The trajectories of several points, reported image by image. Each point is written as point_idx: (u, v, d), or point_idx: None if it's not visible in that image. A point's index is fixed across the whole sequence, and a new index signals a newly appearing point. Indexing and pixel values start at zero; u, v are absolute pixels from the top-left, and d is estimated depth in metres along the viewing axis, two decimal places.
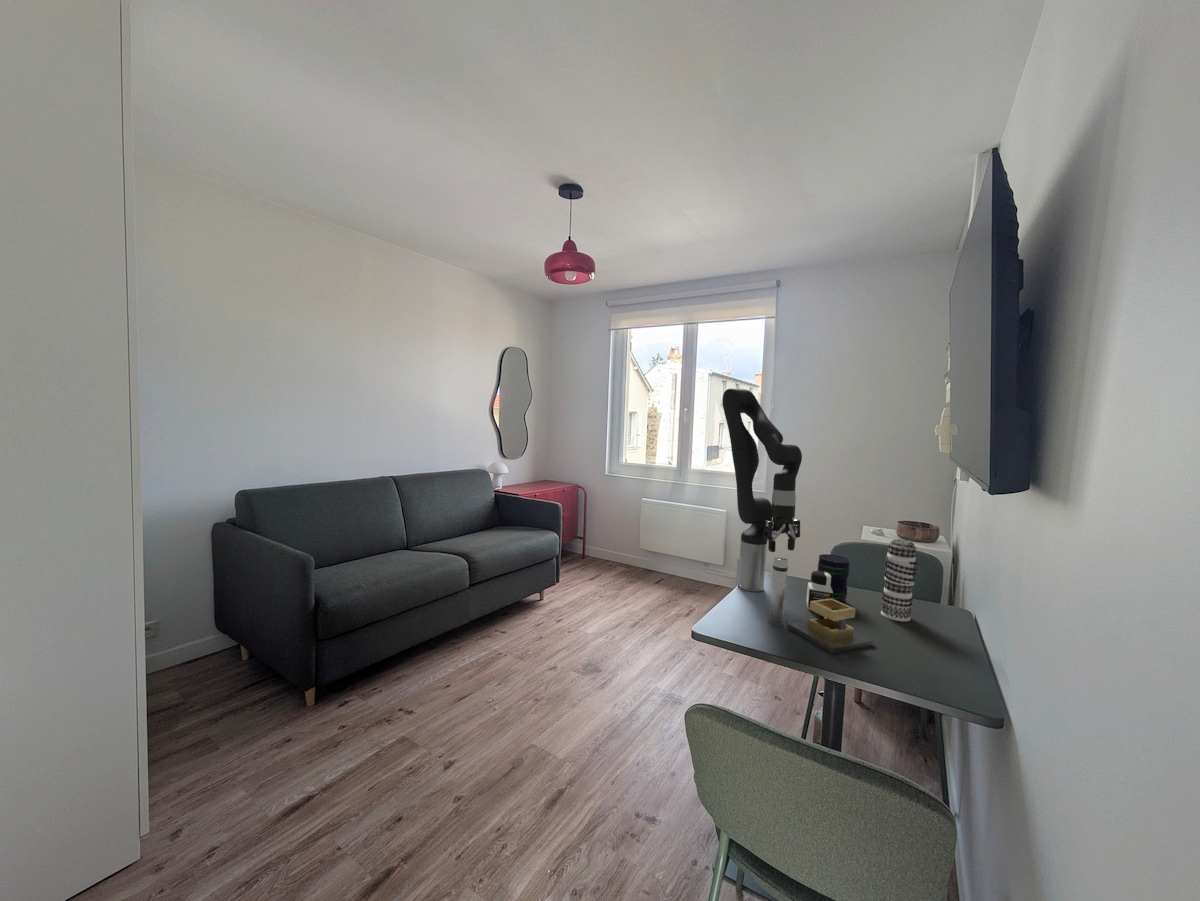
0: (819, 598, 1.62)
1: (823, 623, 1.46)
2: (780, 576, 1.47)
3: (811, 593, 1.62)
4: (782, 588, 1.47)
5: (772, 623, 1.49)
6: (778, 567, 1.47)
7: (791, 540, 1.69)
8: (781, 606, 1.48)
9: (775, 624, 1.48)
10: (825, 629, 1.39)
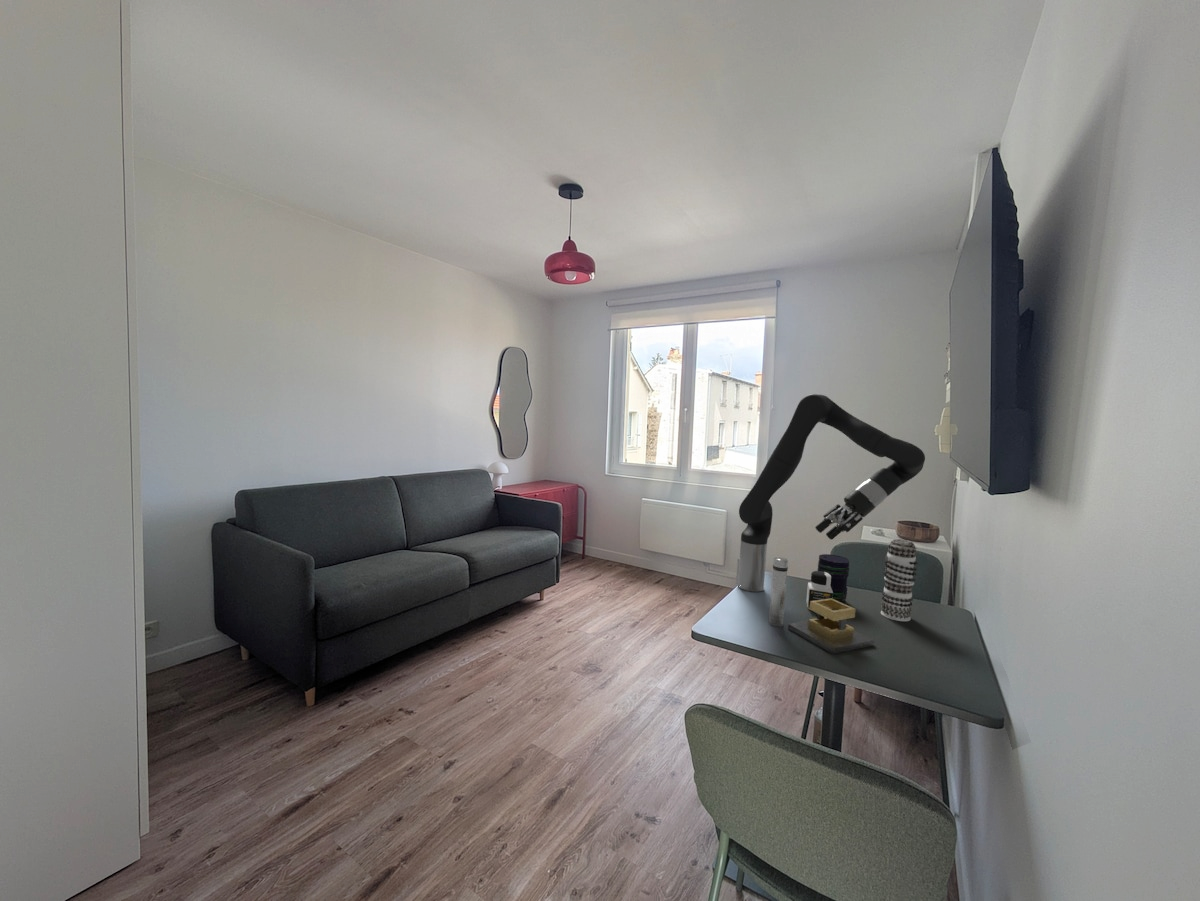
0: (819, 598, 1.62)
1: (823, 623, 1.46)
2: (780, 576, 1.47)
3: (811, 593, 1.62)
4: (782, 588, 1.47)
5: (772, 623, 1.49)
6: (778, 567, 1.47)
7: (827, 524, 1.51)
8: (781, 606, 1.48)
9: (775, 624, 1.48)
10: (825, 629, 1.39)
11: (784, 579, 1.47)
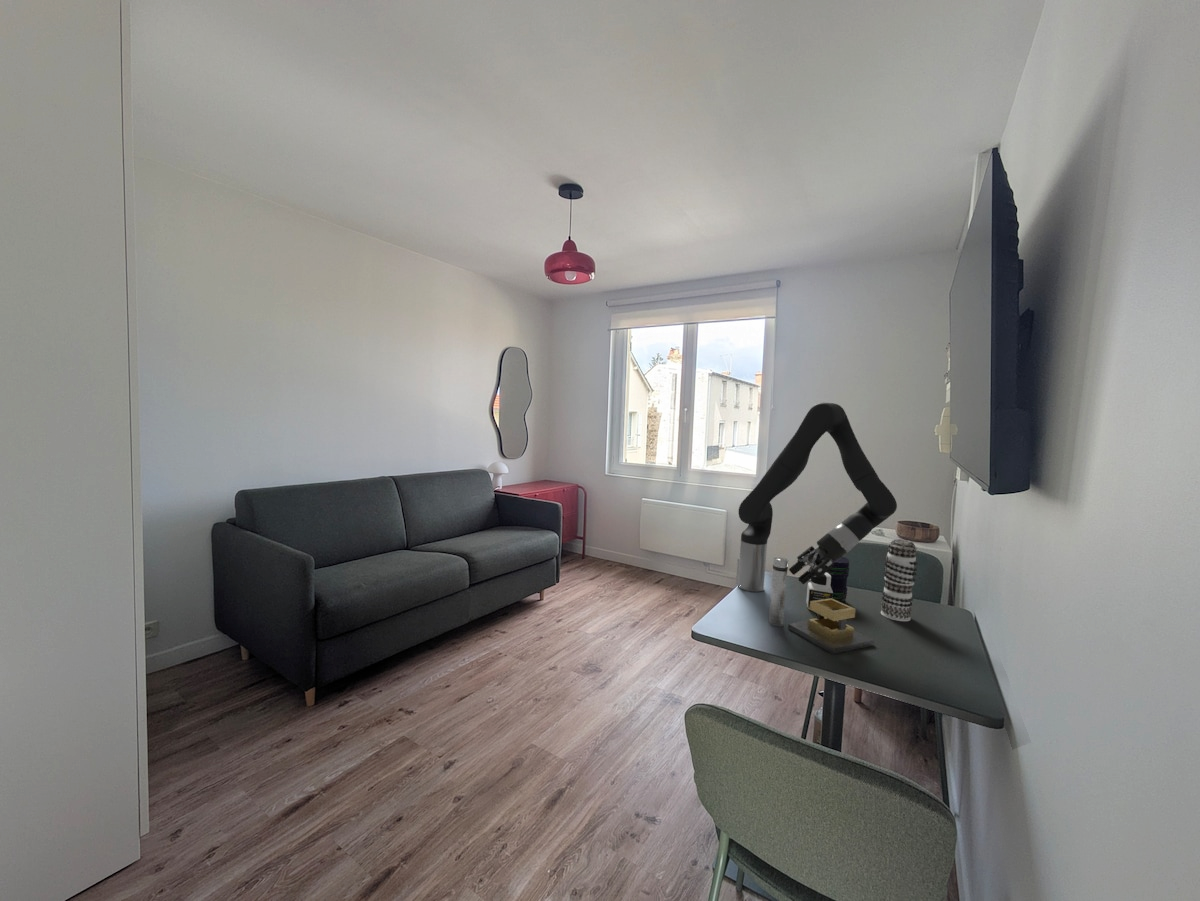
0: (819, 598, 1.62)
1: (823, 623, 1.46)
2: (780, 576, 1.47)
3: (811, 593, 1.62)
4: (782, 588, 1.47)
5: (772, 623, 1.49)
6: (778, 567, 1.47)
7: (800, 566, 1.52)
8: (781, 606, 1.48)
9: (775, 624, 1.48)
10: (825, 629, 1.39)
11: (784, 579, 1.47)
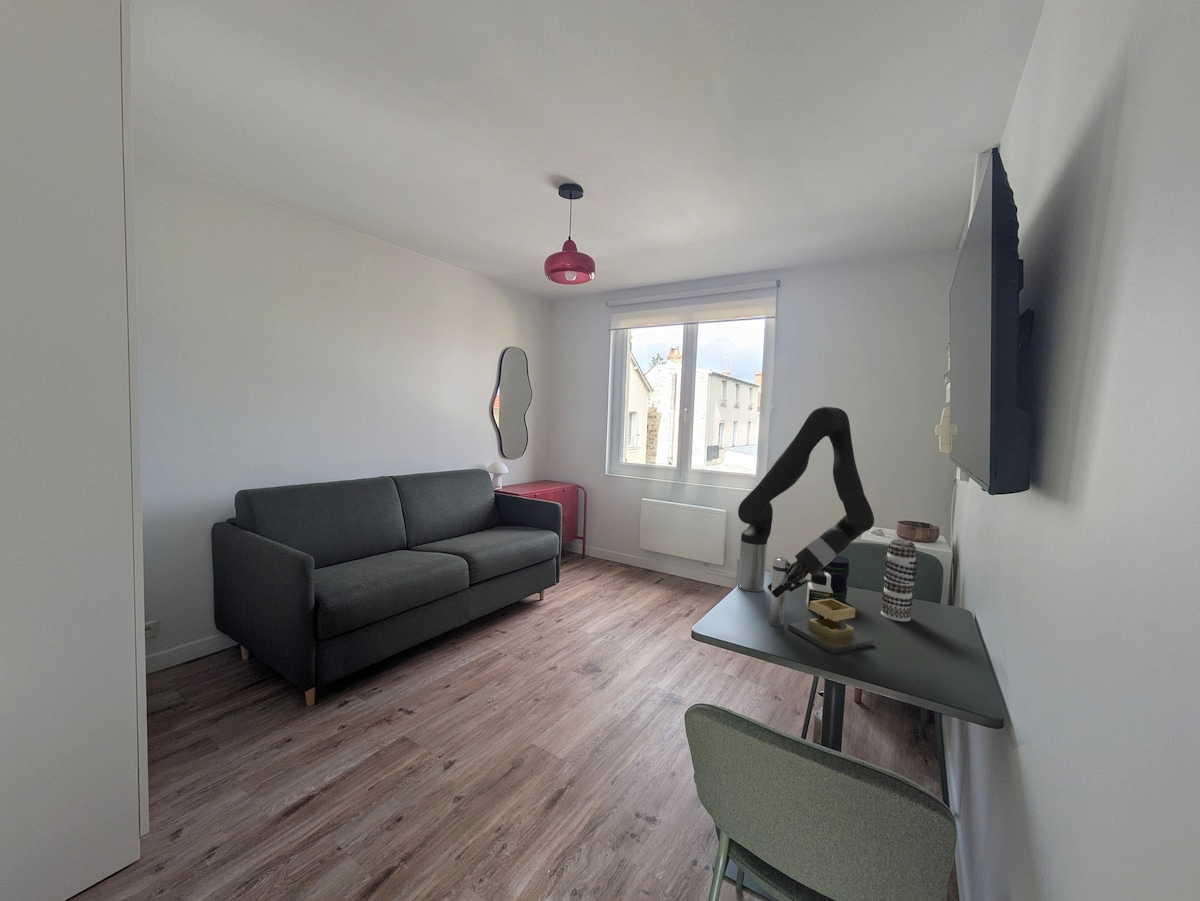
0: (819, 598, 1.62)
1: (823, 623, 1.46)
2: (780, 576, 1.47)
3: (811, 593, 1.62)
4: None
5: (772, 623, 1.49)
6: (778, 567, 1.47)
7: None
8: (781, 606, 1.48)
9: (775, 624, 1.48)
10: (825, 629, 1.39)
11: (784, 579, 1.47)
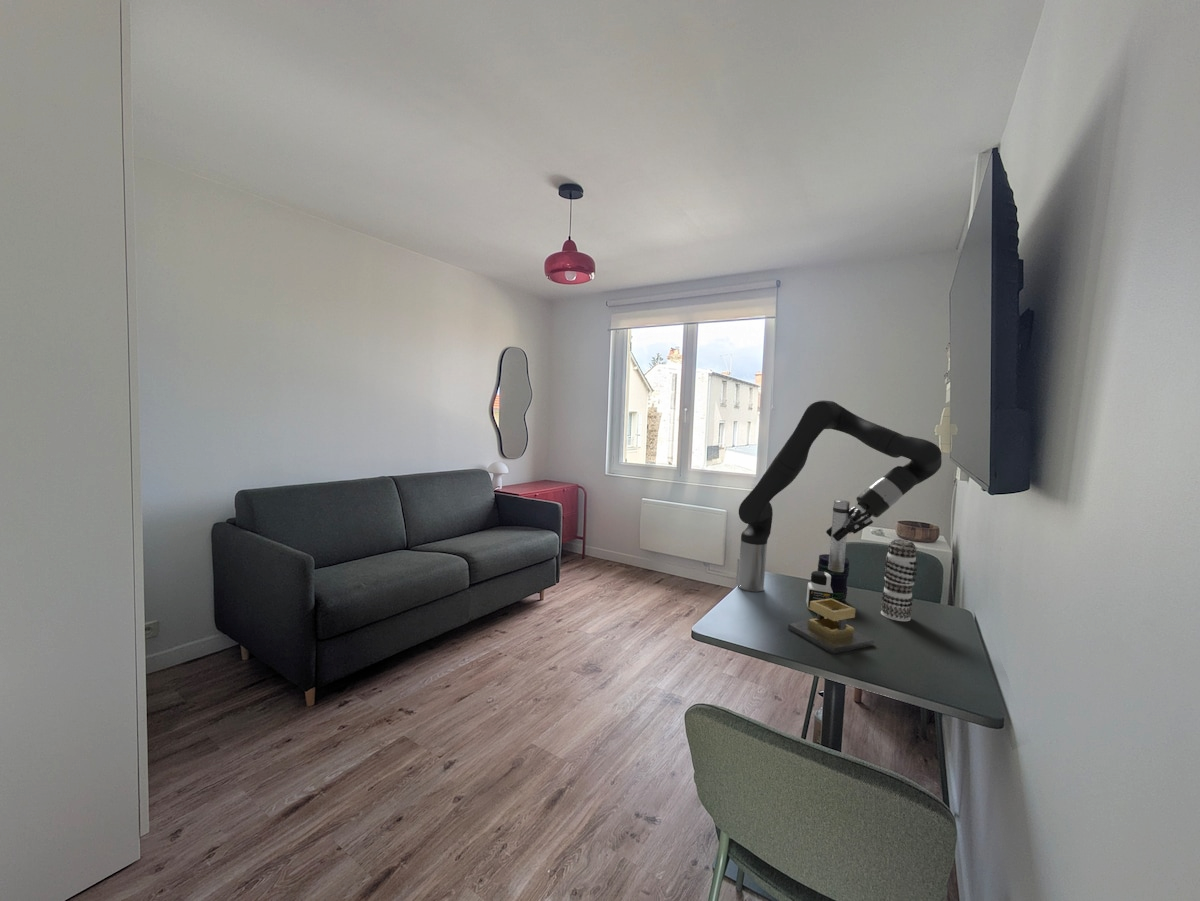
0: (819, 598, 1.62)
1: (823, 623, 1.46)
2: (842, 518, 1.38)
3: (811, 593, 1.62)
4: None
5: (832, 569, 1.40)
6: (840, 509, 1.38)
7: None
8: (842, 550, 1.39)
9: (836, 570, 1.39)
10: (825, 629, 1.39)
11: (846, 521, 1.38)
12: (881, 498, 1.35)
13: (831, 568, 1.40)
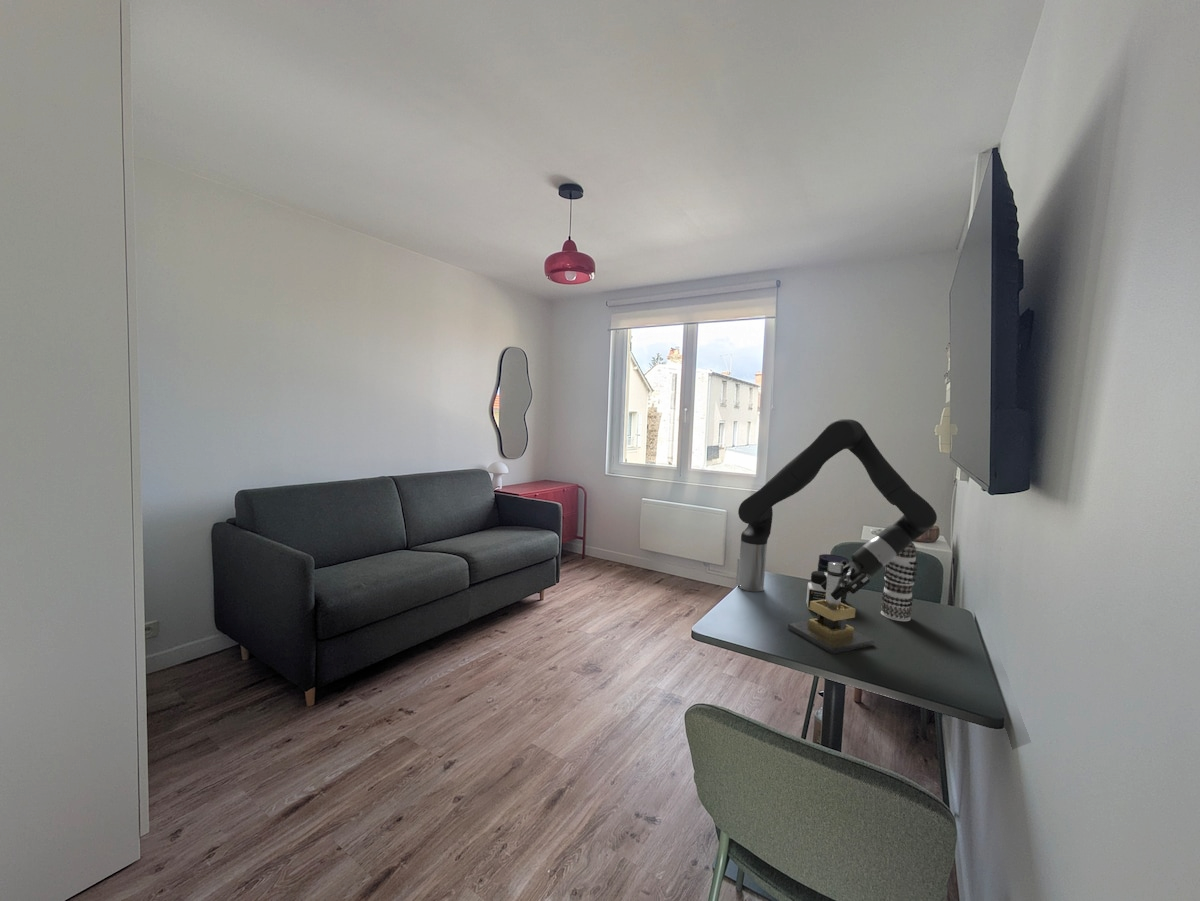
0: (819, 598, 1.62)
1: None
2: (836, 581, 1.40)
3: (811, 593, 1.62)
4: None
5: None
6: (834, 572, 1.40)
7: None
8: None
9: None
10: (825, 629, 1.39)
11: (840, 585, 1.40)
12: (875, 558, 1.37)
13: None
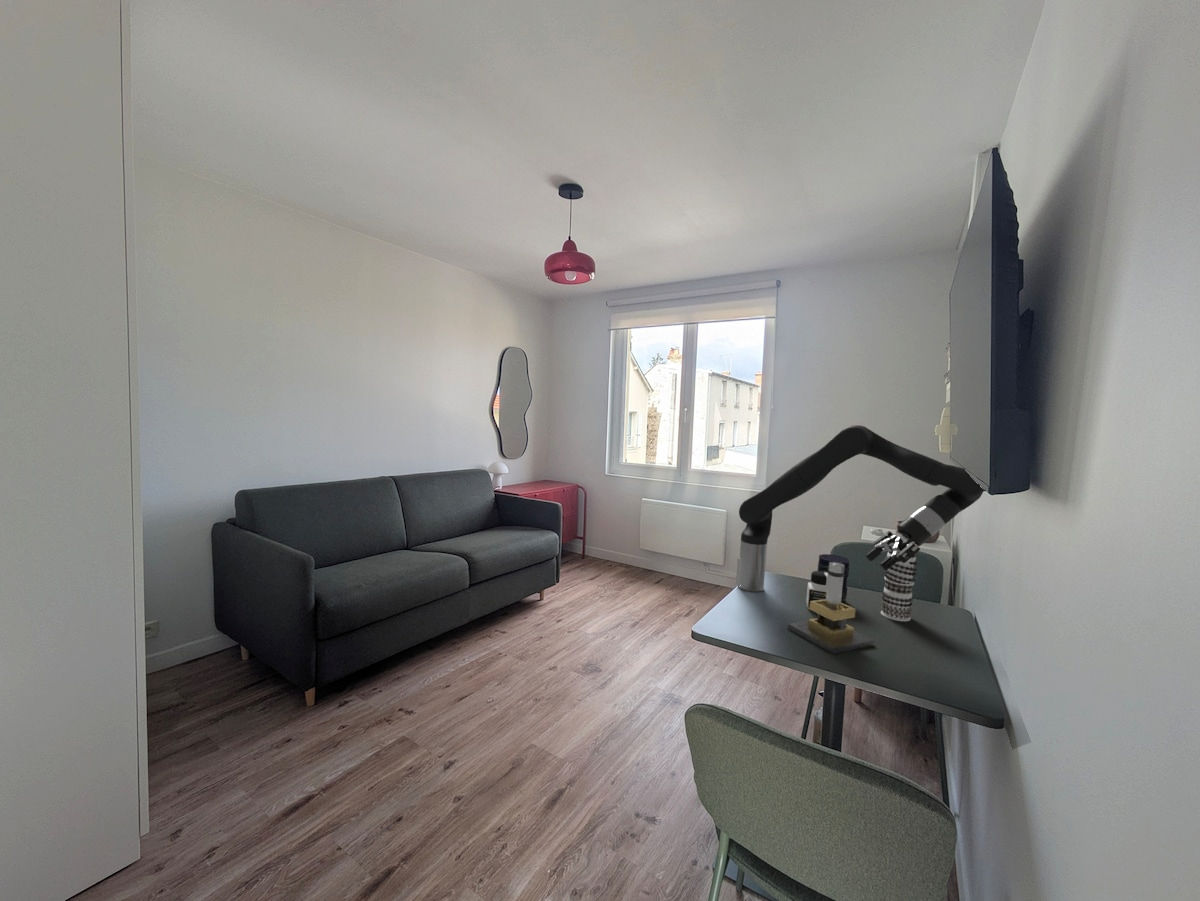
0: (819, 598, 1.62)
1: None
2: (837, 581, 1.40)
3: (811, 593, 1.62)
4: (838, 595, 1.40)
5: None
6: (834, 572, 1.40)
7: (878, 552, 1.44)
8: None
9: None
10: (825, 629, 1.39)
11: (840, 585, 1.40)
12: (923, 527, 1.35)
13: None
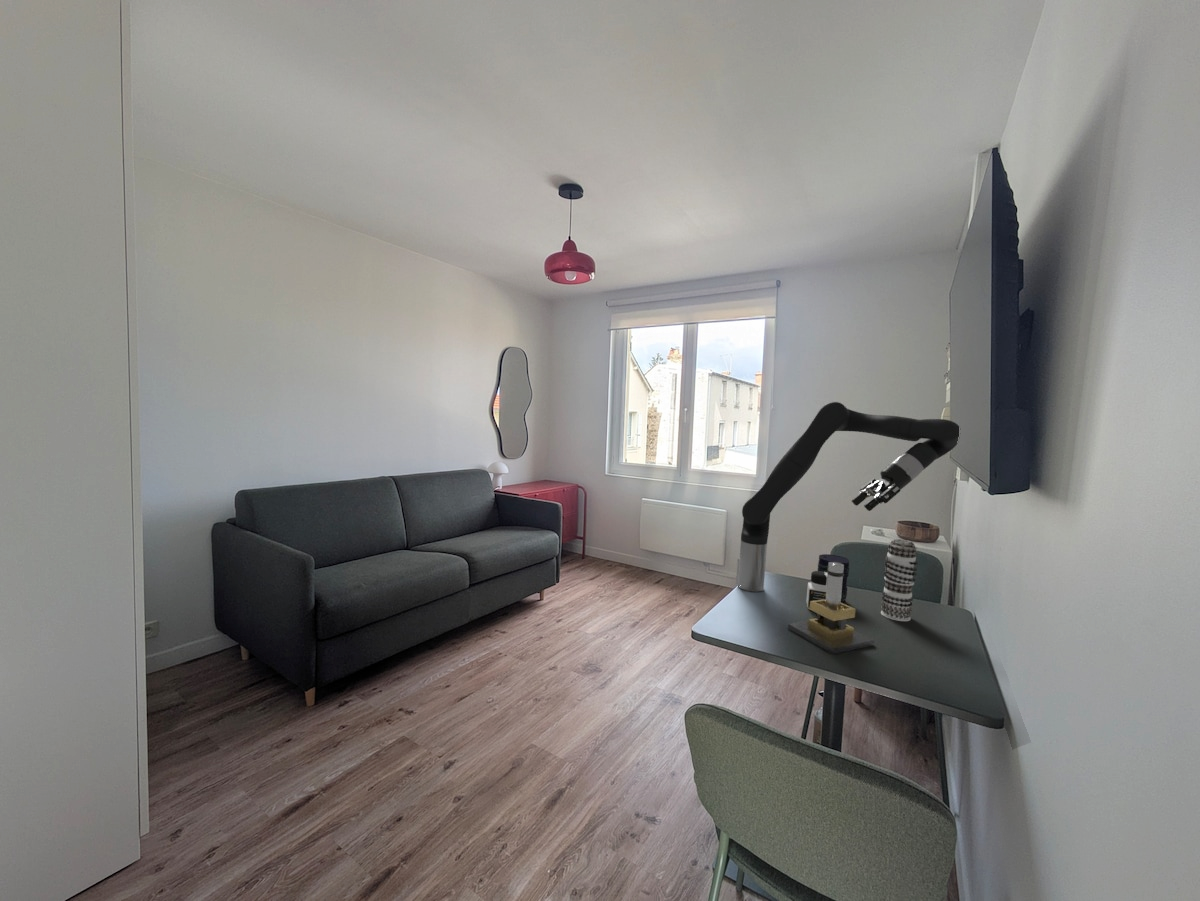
0: (819, 598, 1.62)
1: None
2: (836, 581, 1.40)
3: (811, 593, 1.62)
4: (838, 595, 1.40)
5: None
6: (834, 572, 1.40)
7: (863, 497, 1.56)
8: None
9: None
10: (825, 629, 1.39)
11: (840, 585, 1.40)
12: (904, 471, 1.47)
13: None
